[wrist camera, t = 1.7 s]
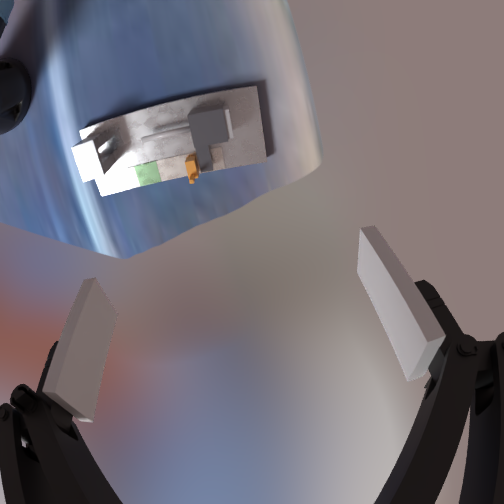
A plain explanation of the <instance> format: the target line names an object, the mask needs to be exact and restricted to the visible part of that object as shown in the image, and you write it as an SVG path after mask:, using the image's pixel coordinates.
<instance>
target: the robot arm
mask: <svg viewBox="0 0 504 504" xmlns="http://www.w3.org/2000/svg"><path fill="white" fill-rule="evenodd" d="M13 6H14V0H0V38H1V36H2V33H3V31H4V28H5V26H6V25H7V23H8V18H9V16H10V13H11V11H12V9H13ZM30 99H31V81H30V77H29V74H28V71H27V69H26V68H25V66H24V65H23V64H22V63H21V62H20V61H18V60H16V59H11V58H8V59H2V60H0V135H1V134H4V133H6V132H8V131H10V130H12V129H14V128H15V127H16V126H17V125H19V123H20V122H21V121H22V120H23V118H24V116H25V114H26V112H27V110H28V107H29V104H30ZM357 273H358V275H359V277H360V279H361V281H362V283H363V285H364V287H365V289H366V291H367V293H368V295H369V297H370V299H371V301H372V303H373V305H374V307H375V309H376V312H377V313H378V316H379V318H380V320H381V322H382V324H383V327H384V329H385V331H386V333H387V335H388V338H389V339H390V342H391V344H392V346H393V349H394V351H395V353H396V355H397V358H398V360H399V362H400V365H401V367H402V370H403V372H404V374H405V377H406V379H407V382H409V381H411V380H414V379H417V378H419V377H422V376H424V375H425V373H426V371H427V370H428V369H429V372H430V374H431V377H430V379H429V380H428V382H427V383H426V385H425V387H424V388H427V389H426V392H425V394H424V398H423V400H422V403H421V406H420V408H419V411H418V414H417V416H416V419H415V421H414V424H413V426H412V429H411V431H410V434H409V436H408V438H407V441H406V443H405V445H404V447H403V450H402V452H401V454H400V456H399V458H398V460H397V462H396V464H395V466H394V468H393V470H392V472H391V474H390V476H389V478H388V480H387V482H386V483H385V485H384V487H383V489H382V491H381V492H380V494H379V496H378V498H377V499H376V501H375V503H374V504H435V501H436V500H437V497H438V495H439V493H440V491H441V489H442V486H443V484H444V482H445V479H446V477H447V474H448V472H449V470H450V467H451V464H452V462H453V459H454V456H455V453H456V451H457V448H458V445H459V442H460V439H461V436H462V433H463V429H464V426H465V422H466V419H467V415H468V411H469V408H470V426H469V439H468V449H467V458H466V466H465V472H464V479H463V485H462V490H461V495H460V500H459V504H504V332H502V333H501V334H499V335H498V337H497V338H496V340H495V341H476V340H475V338H473V337H472V336H470V335H466V334H464V333H463V332H462V331H461V329H460V327H459V326H458V324H457V322H456V321H455V319H454V318H453V316H452V314H451V313H450V311H449V309H448V308H447V306H446V305H445V303H444V301H443V300H442V298H440V295H439V294H438V292H437V291H436V289H435V288H434V287H433V286H432V285H431V284H429V283H428V282H427V281H425V280H422V281H418V282H413V280H412V279H411V277H410V276H409V274H408V272H407V271H406V269H405V268H404V267H403V265H402V264H401V262H400V261H399V259H398V258H397V256H396V255H395V253H394V252H393V250H392V249H391V248H390V246H389V245H388V243H387V242H386V240H385V239H384V238H383V236H382V235H381V234H380V232H379V231H378V230H377V228H376V227H375V226H369V227H364V228H360V240H359V255H358V268H357ZM117 316H118V313H117V311H116V310H115V308H114V307H113V305H112V303H111V302H110V300H109V299H108V297H107V296H106V294H105V292H104V291H103V289H102V287H101V286H100V284H99V283H98V281H97V279H96V278H91V279H86V280H84V281H83V283H82V285H81V288H80V290H79V292H78V295H77V297H76V299H75V302H74V304H73V306H72V308H71V311H70V313H69V316H68V318H67V321H66V323H65V326H64V328H63V331H62V334H61V336H60V339H59V341H56V342H55V343H54V345H53V346H52V348H51V349H50V352H49V355H48V358H47V361H46V363H45V368H44V369H43V372H42V376H41V378H40V382H39V385H38V388H37V391H36V393H35V392H34V391H33V390H32V389H30V388H29V387H28V386H27V385H25V384H20V385H18V386H17V387H16V388H15V389H14V390H13V392H12V394H11V398H10V404H11V405H12V406H14V407H15V408H14V407H12V406H11V405H10V404H8V403H4V404H2V405H1V406H0V471H1V478H2V485H3V490H4V495H5V500H6V504H123V503H122V502H121V501H120V499H119V498H118V496H117V495H116V493H115V492H114V490H113V489H112V487H111V486H110V484H109V483H108V481H107V480H106V478H105V476H104V475H103V473H102V472H101V470H100V468H99V467H98V465H97V463H96V462H95V460H94V458H93V456H92V455H91V453H90V451H89V449H88V447H87V446H86V444H85V442H84V440H83V438H82V436H81V434H80V432H79V430H78V428H77V426H76V424H75V423H74V422H73V421H72V417H73V416H74V417H76V418H77V419H79V420H80V421H86V422H93V421H94V415H95V410H96V404H97V399H98V394H99V389H100V385H101V380H102V375H103V371H104V367H105V362H106V358H107V354H108V350H109V346H110V342H111V338H112V335H113V330H114V327H115V324H116V320H117ZM21 440H22V441H24V442H25V443H26V447H23V446H22V441H21Z"/></svg>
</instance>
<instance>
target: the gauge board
mask: <svg viewBox="0 0 504 504" xmlns="http://www.w3.org/2000/svg"><path fill="white" fill-rule="evenodd" d="M218 104H223V106H225V105H228V106H229V111H230V117H231V123H232V129H233V136H234V138H232V139H228V140H229V142H223V143H218V144H213V145H209V147H210V152H211V157H212V162H213V167H214V169H213V171H215V170H221V169H226V168H232V167H238V166H244V165H250V164H257V163H263V162H267V157H266V149H265V142H264V134H263V127H262V120H261V113H260V106H259V99H258V92H257V86H256V85H252V86H245V87H238V88H232V89H226V90H220V91H215V92H209V93H204V94H199V95H194V96H190V97H185V98H181V99H177V100H173V101H169V102H165V103H161V104H157V105H153V106H150V107H146V108H142V109H139V110H136V111H132V112H129V113H126V114H123V115H119V116H116V117H113V118H110V119H107V120H105V121H102V122H99V123H96V124H93V125H91V126H88V127H85V128H83V129H82V130H80V131H79V132H80V135H81V138H82V140H81V141H80V142H79V143H77V144H76V145H75V146H73V147H72V151H73V154H74V157H75V160H76V163H77V166H78V169H79V171H80V174H81V177H82V179H83V182H85V181H88V180H91V179H96V182H97V185H98V187H99V190H100V193H101V195H102V196H105V195H109V194H113V193H116V192H120V191H124V190H128V189H132V188H136V187H140V186H144V185H149V184H153V183H157V182H162V181H166V180H171V179H175V178H180V177H185V176H188V174H187V170H186V166H185V160H186V157H189V156H194V155H196V159H197V163H198V168H199V174H200V173H201V171H200V166H199V162H198V158H197V153H196V149H195V148H194V145H193V140H192V136H191V132H188V133H183V134H179V135H174V136H170V137H166V138H162V139H158V140H154V141H150V142H146V143H142V141H141V137H144V136H148V135H152V134H156V133H160V132H164V131H168V130H172V129H176V128H181V127H185V126H189V122H188V117H187V115H188V114H189V112H190V111H191V110H193V109H198V108H203V107H208V106H213V105H218ZM207 172H210V171H207ZM202 173H205V172H202Z"/></svg>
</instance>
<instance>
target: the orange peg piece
mask: <svg viewBox="0 0 504 504" xmlns="http://www.w3.org/2000/svg"><path fill="white" fill-rule="evenodd" d="M185 166H186V170H187V174H188V177H189V182H190V184H192V183H194V180H195V178H198V176H199V168H198V163H197V159H196V155H194V156H189V157H186V160H185Z"/></svg>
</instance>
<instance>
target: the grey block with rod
mask: <svg viewBox="0 0 504 504" xmlns="http://www.w3.org/2000/svg"><path fill="white" fill-rule="evenodd" d="M187 117H188V122H189V126H185V127H181V128H176V129H172V130H168V131H164V132H160V133H156V134H152V135H148V136H144V137H141V141H142V143H146V142H150V141H154V140H158V139H162V138H166V137H170V136H174V135H179V134H183V133H188V132H191V136H192V140H193V145H194V148H195V149H196V153H197V158H198V162H199V166H200V171H201V173H202V172H207V171H213V169H214V167H213V162H212V157H211V152H210V147H209V145H213V144H218V143H223V142H229V140H228V139H232V138H234V136H233V129H232V123H231V117H230V111H229V106H228V105H225V106H223V104H218V105H213V106H208V107H203V108H198V109H193V110H191V111H190V112H189V114H188V115H187Z"/></svg>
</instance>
